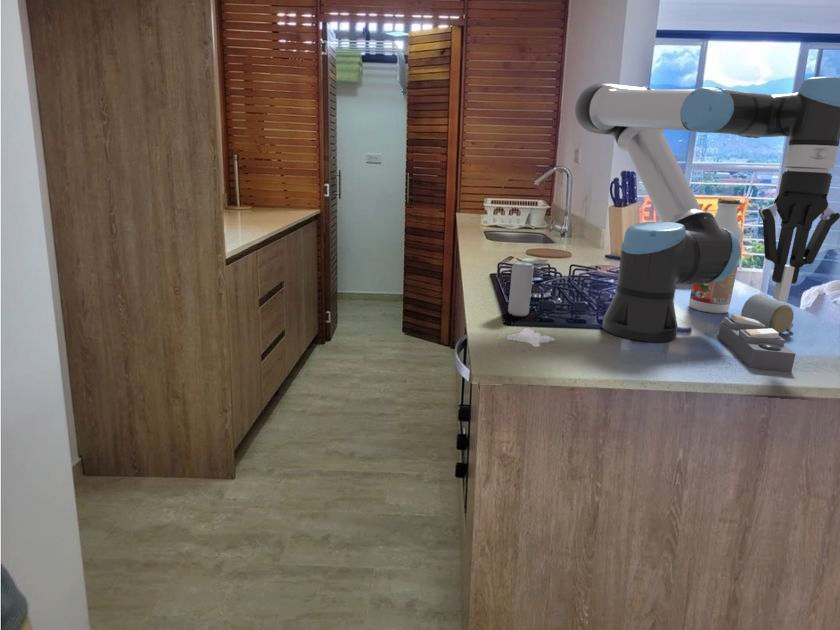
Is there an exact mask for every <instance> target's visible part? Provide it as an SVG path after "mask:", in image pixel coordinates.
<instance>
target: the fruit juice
mask: <svg viewBox="0 0 840 630" xmlns="http://www.w3.org/2000/svg"><path fill="white" fill-rule="evenodd" d="M740 205H741V200H740V199H735V198H734V199H733V198H721V197H720V198H718V199H717V210H716V213H715V215H714V218H715V220H716V222H717V224H718V226H719V228H720V229H726V230H729V231H731V232H733V233H734V234H735V235H736V236H737V238H738V240H739V242H740V245H741V243H742V242H743V240H744V239H743V238H744V231H743V229H742V228H741V226H740V224H739V221H738V208H739V207H740ZM739 261H740V259H739V260H738V265H737V267H736V269H735V270H734V271H733V273H732V274H731V275H730V276H728V277H727V278H725V279H724V280H721V281H717V282H711V283H707V284H705V283H691V284H692V285H691V291H690V297H689V301H688V305H689V307H690V308H691V309H693V310H697V311H699V312H703V313H711V314H725V313H728V312H729V309H730V305H731V301H732V297H733V291H734V287H735V282H736V277H737V272H738V267H739V263H740V262H739Z"/></svg>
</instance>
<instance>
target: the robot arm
mask: <svg viewBox="0 0 840 630" xmlns="http://www.w3.org/2000/svg"><path fill="white" fill-rule="evenodd" d="M574 114H575V119H576V120H577V123H578V124H579V125H580V126H581V127H582V128H583V129H585V131H587V132H590V133H594V134H599V135H600V134H601V135H609V136H613V137H614V140H615V142H616V144H617V147H618V148H619V149H620V150H622V151H624V152H628V154H629V157H630V159H631V160H632V163H633V165H634V167H635V169H636V172H637V173H638V176H639V178H640V180H641V182H642V184H643V187H644V188H645V190H646V193H647V195H648V197H649V199H650V202H651V204H652V206H653V208H654V210H655V213H656V215H657V217H658V219H659V221H647V222H638V223H634V224H632V225H630V226H628V228H627V229H626V231H625V233H624V237H623V241H622V243H621V252H620V253H621V254H620V259H619V267H618V269H619V270H618V276H617V283H616V289H615V294H614V296H613V298H612V300H611V302H610V304H609V306H608V308H607V310H606V311H605V314H604V316H603V319H602V329H603V330H604V331H606V332H608V333H609V334H612V335H613V336H617V337H621V338H625V339H627V340H628V339H629V340H632V341H639V342H651V343H655V342H656V343H664V342H671V341H673V340H675V339H676V338H677V334H678V321H677V315H676V310H675V305H674V303H675V302H674V299H675V293H676V287H677V285H678V284H679V285H680V284H693V283H705V284H707V283H711V282H717V281H721V280H724V279H725V278H727V277H728V276H730V275H731V274H732V273H733V271H734V270H735V269H736V267H737V265H738V266H739V263H738V260H739V261H740V259H741V254H742V250H741V247H742V246H741V244H740V242H739V240H738V238H737V236H736V235H735V234H734V233H733V232H731V231H729V230H726V229H720V228H719V226H718V224H717V222H716V220H715V218H714V217H715V215H713V213H711V212H709V211H705V210H702V208H701V206H700V204H699V202H698V200H697V197H696V196H695V194H694V192H693V190H692V188H691V186H690V185H689V184H690V183H688V181H687V178H686V176H685V174H684V172H683V170H682V168H681V167H680V164H679V161H678V160H677V158H676V156H675V154H674V152H673V150H672V148H671V146H670V144H669V141H667V138H666V136H665V134H664V132H665V131H666V130H671V131H673V130H674V131H688V132H697V133H704V134H705V133H706V134H709V133H710V134H713V133H714V134H726V135H737V136H739V137H742V138H753V139H758V138H770V137H771V138H773V137H775V138H776V137H789V140H788V141H789V142H788V146H787V151H786V157H785V159H784V166H783V167H784V168H785V169H786V171H784V172H783V173H781V174H782V175H781V178H780V179H781V180H780V184H779V188H778V195H777V196H776V198H775V199H774V201H773V203H772V204H770V205H768V206H766V207H760V208H759V209H758V213H759V216H760V218H761V220H762V227H763V228H762V230H763V231H762V232H763V233H762V234H763V245H764V247H763V249H764V250H763V251H764V258H765V259H766V260H767V261H770V262H772V263H773V264H774V265H773V266H774V267H773V271H772V277H771V280H772V282H775V287H774V291H773V295H772V299H774V300H777V301H780V302H788V298H789V296H790V290H791V286H792V284H795V285H796V283H797V282H798V277H799V274H800V269H801V268H803V267H804V266H805V265H812V264H814V261H815V259H816V257H817V255H818V253H819V251H820V250H821V248H822V246H823V243H824V242H825V240H826V238H827V235H828V234H829V231H830V230H831V228H832V226H833V225H834V224H835V223H836V222H837V221H838V220H839V219H840V213H839V212H835V211H833V210H832V209H830V208H829V207H828V206H829V202H828V195H829V191H830V188H831V183H832V178H833V175H832V173H830V171H832V170H834V169H835V165H836V161H837V157H838V156H837V155H838V151H839V149H840V147H839V145H840V76H816V77H815V76H814V77H810V78H806V79H804V80H802V82H801V84H800V86H799V89H798V92H794V93H793V92H792V93H781V94H769V93H768V94H767V93H758V92H749V91H745V90H744V91H739V90H734V89H732V90H731V89H726V88H722V87H719V86H718V87H717V86H715V87H714V86H707V87H706V86H705V87H704V86H703V87H698V88H696V89H695V88H693V89H692V88H688V89H687V88H686V89H683V88H682V89H678V88H677V89H654V88H649V87H648V86H641V85H640V86H639V85H638V86H633V85H625V84H624V85H623V84H617V83H608V82H598V83H594V84H592V85H590V86H588V87H586V88H585V89H584V90H583V91H582V92H581V93H580V95H579V96H578V97H577V98H576V102H575V107H574ZM776 213H777V214H778V215H779V217H780V219H781V223H780V227H781V229H780V232H779V237H778V242H777V236H776V235H777V233H776V220H775V217H776V215H777V214H776ZM819 216H820V217H819ZM818 217H819V219H820V220H819V221H818V223H817V224H816V227H815V229H814V231H813V233H812V235H811V236H810V239H809V234H810V231H811V229H812V226H813V223H814V221H815V220H817V218H818ZM794 231H795V233H794ZM793 235H794V239H793ZM792 239H793V240H792ZM808 239H809V240H808ZM792 241H793V244H792ZM791 244H792V248H791ZM790 249H791V252H790ZM789 253H790V257H789ZM788 258H789V264H787V263H788ZM737 268H738V267H737Z"/></svg>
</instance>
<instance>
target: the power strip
mask: <svg viewBox="0 0 840 630" xmlns="http://www.w3.org/2000/svg"><path fill="white" fill-rule="evenodd" d="M723 319H724V320H720V324H719V329H718V333H717V337H718V338H719V339H720V340H721V341H722V342H723V343H724V344H725V345H726V346H728V348H730V349H731V351H733V353H735V355H737V357H739V358H740V359H741V360H742V362H744V363H745V364H746V365H747V366H748V367H749V368H753V369H762V370H770V371H771V370H772V371H781V372H790V373H791V372H792V371H793V367H794V362H795V359H796V358H795V357H796V352H795V351H793V350H791V349H790V348H788V347H787V346H786V345H785V343H786V342H785V341H786V339H784V338H783V337H781V336H780V335H779V338H763V337H753V336H749V335H747V334H746V333H745V330H750V329H765V328H766V326H765V325H763V324H762V323H761V322H759V321H758V320H756V321H758V322H759V323H761V325H751V324H741V323H737V322H734V321H733V320H732V319H731V318H730V317H728V316H727V317H726V316H725V317H724V318H723Z"/></svg>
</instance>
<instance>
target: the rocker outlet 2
mask: <svg viewBox="0 0 840 630" xmlns="http://www.w3.org/2000/svg"><path fill="white" fill-rule="evenodd" d="M745 333H746V334H747V335H749V336H753V337H763V338H779V336H780V334H779V333H778V332H777V331H775V330H774V329H773V328H768V329H750V330H745Z"/></svg>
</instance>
